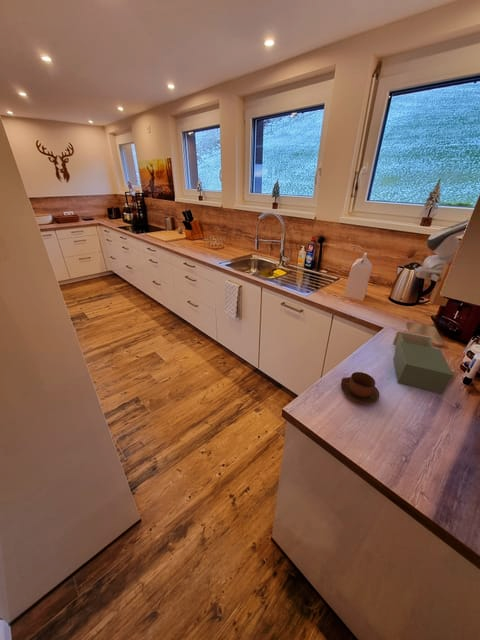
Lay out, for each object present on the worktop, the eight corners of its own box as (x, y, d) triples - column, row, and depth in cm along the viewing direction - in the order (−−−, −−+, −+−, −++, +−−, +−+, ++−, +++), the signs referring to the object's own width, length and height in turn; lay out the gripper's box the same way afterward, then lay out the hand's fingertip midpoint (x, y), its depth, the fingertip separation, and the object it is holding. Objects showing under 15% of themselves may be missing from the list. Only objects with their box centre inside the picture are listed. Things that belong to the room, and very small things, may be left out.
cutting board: (433, 329, 129) (434, 326, 128) (443, 348, 114) (445, 345, 114) (406, 323, 133) (407, 321, 132) (412, 341, 118) (413, 339, 117)
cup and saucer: (347, 406, 83) (351, 392, 80) (334, 380, 93) (338, 367, 90) (384, 407, 83) (390, 393, 80) (368, 381, 93) (372, 367, 91)
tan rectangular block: (442, 301, 116) (462, 257, 106) (445, 306, 112) (466, 260, 102) (429, 299, 117) (447, 256, 108) (431, 304, 113) (451, 259, 103)
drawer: (391, 338, 118) (396, 325, 115) (422, 344, 114) (428, 331, 111) (396, 362, 103) (402, 347, 99) (432, 370, 99) (440, 355, 96)
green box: (392, 358, 106) (399, 341, 102) (431, 367, 102) (440, 349, 98) (397, 383, 93) (406, 364, 89) (442, 394, 89) (453, 374, 85)
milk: (362, 300, 156) (375, 257, 144) (343, 296, 161) (353, 254, 149) (365, 294, 166) (377, 253, 153) (346, 290, 170) (356, 250, 158)
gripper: (416, 261, 122) (422, 269, 110) (468, 268, 115) (480, 277, 104) (411, 274, 125) (416, 284, 113) (462, 281, 118) (473, 292, 107)
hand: (447, 281), depth 109 cm, fingers closed on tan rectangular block, 5 cm apart
